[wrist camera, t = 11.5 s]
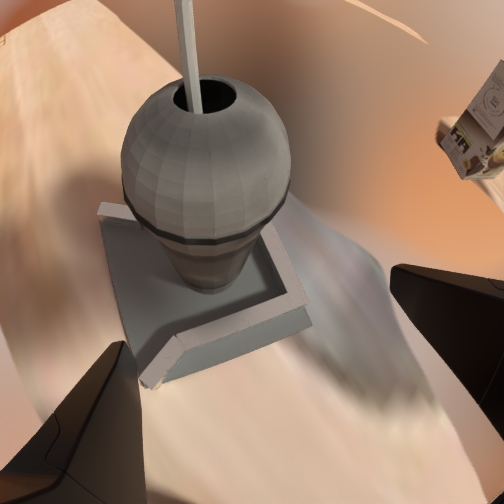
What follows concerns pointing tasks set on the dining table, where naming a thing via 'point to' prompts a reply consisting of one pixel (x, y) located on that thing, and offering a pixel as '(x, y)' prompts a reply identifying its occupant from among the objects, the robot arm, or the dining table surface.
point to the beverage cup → (205, 168)
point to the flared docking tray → (228, 325)
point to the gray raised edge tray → (186, 302)
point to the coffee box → (480, 132)
